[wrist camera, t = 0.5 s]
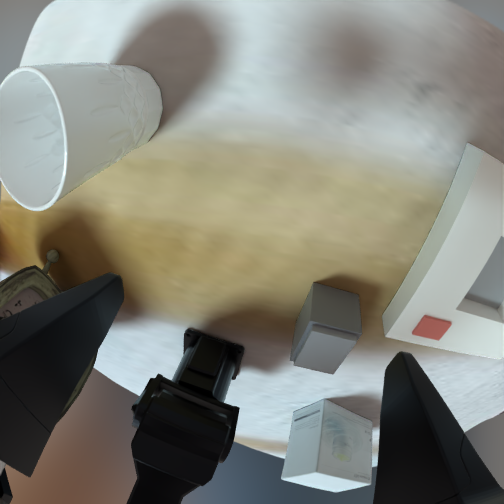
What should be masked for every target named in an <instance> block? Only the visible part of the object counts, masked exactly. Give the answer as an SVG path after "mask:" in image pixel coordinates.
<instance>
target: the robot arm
mask: <svg viewBox="0 0 504 504" xmlns="http://www.w3.org/2000/svg"><path fill="white" fill-rule="evenodd" d="M123 300H124V289H123V282H122V278H121V276H120V275H117V274H114V273H111V272H110V273H107V274H104V275H102V276H100V277H97V278H95V279H92V280H90V281H88V282H85V283H83V284H81V285H78V286H76V287H74V288H71V289H69V290H67V291H64V292H62V293H60V294H58V295H55V296H53V297H51V298H48V299H46V300H44V301H42V302H39V303H37V304H35V305H33V306H31V307H28V308H26V309H24V310H22V311H21V312H17V313H15V314H13V315H11V316H8V317H6V318H4V319H2V320H0V504H10V502H11V500H12V498H13V496H12V493H11V489H10V486H9V482H8V478H7V475H6V471H5V466H6V464H7V465H9V466H11V467H12V468H14V469H16V470H17V471H19V472H21V473H23V474H24V475H26V476H28V477H31V475H32V473H33V471H34V469H35V467H36V464H37V462H38V460H39V458H40V456H41V454H42V452H43V449H44V447H45V445H46V443H47V441H48V439H49V437H50V435H51V432H52V431H53V429H54V427H55V425H56V423H57V421H58V419H59V417H60V415H61V413H62V412H63V410H64V408H65V406H66V404H67V402H68V400H69V399H70V397H71V395H72V393H73V391H74V390H75V388H76V386H77V384H78V382H79V381H80V379H81V377H82V376H83V374H84V372H85V370H86V369H87V367H88V365H89V364H90V362H91V360H92V359H93V357H94V355H95V354H96V352H97V350H98V349H99V347H100V345H101V344H102V342H103V340H104V339H105V337H106V335H107V333H108V331H109V329H110V327H111V325H112V322H113V320H114V318H115V316H116V314H117V312H118V310H119V308H120V306H121V304H122V302H123ZM243 353H244V348H243V347H242V346H239V345H235V344H232V343H229V342H226V341H222V340H219V339H216V338H213V337H210V336H207V335H204V334H201V333H198V332H195V331H192V330H189V329H187V330H186V331H185V333H184V356H183V358H182V360H181V362H180V364H179V366H178V368H177V370H176V372H175V374H174V377H173V379H172V381H171V380H169V379H167V378H165V377H163V375H161V374H158V375H157V376H156V378H150V380H149V382H148V384H147V386H146V387H145V389H144V391H143V392H142V394H141V395H140V396H139V398H138V399H137V400H136V402H135V403H134V404H133V406H132V409H131V410H132V412H133V415H134V416H133V423H132V427H134V428H136V429H137V431H136V434H135V436H134V438H133V440H132V443H131V448H132V455H133V459H134V463H135V469H136V474H137V480H136V483H135V485H134V487H133V490H132V492H131V494H130V497H129V499H128V501H127V504H181V501H182V499H183V497H184V496H185V495H187V494H188V493H190V492H191V491H193V490H194V489H196V488H197V487H199V486H203V485H205V484H206V483H207V482H209V481H210V480H211V479H212V477H213V474H214V472H215V470H216V467H217V465H218V462H219V463H223V462H224V461H225V459H226V458H227V456H228V454H229V452H230V450H231V447H232V444H233V441H234V436H235V431H236V425H237V420H238V414H239V409H240V408H239V407H237V406H231V405H229V404H226V403H224V400H225V397H226V394H227V391H228V388H229V385H230V382H231V380H235V379H236V376H237V373H238V370H239V366H240V363H241V360H242V357H243ZM373 504H504V489H502V488H501V487H500V485H499V484H498V483H497V481H496V480H495V478H494V477H493V476H492V474H491V473H490V471H489V470H488V468H487V467H486V465H485V464H484V463H483V461H482V460H481V458H480V457H479V455H478V454H477V452H476V451H475V449H474V448H473V446H472V444H471V443H470V441H469V440H468V438H467V436H466V435H465V434H464V431H463V430H462V428H461V427H460V425H459V423H458V422H457V420H456V419H455V417H454V415H453V414H452V412H451V411H450V409H449V408H448V406H447V405H446V403H445V402H444V400H443V399H442V397H441V396H440V394H439V393H438V391H437V390H436V388H435V387H434V385H433V384H432V382H431V381H430V379H429V378H428V376H427V375H426V374H425V372H424V371H423V369H422V368H421V366H420V365H419V364H418V362H417V361H416V359H415V358H414V357H413V355H412V354H411V353H408V352H402V351H401V352H399V353H397V355H396V356H395V357H394V358H393V360H392V361H391V362H390V363H389V365H388V366H387V368H386V370H385V377H384V387H383V396H382V405H381V414H380V436H379V453H378V465H377V476H376V485H375V493H374V500H373Z"/></svg>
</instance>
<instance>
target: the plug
mask: <svg viewBox="0 0 504 504" xmlns="http://www.w3.org/2000/svg"><path fill="white" fill-rule="evenodd" d="M361 335H362V326H361V314H360V303H359V295H358V294H354V293H350V292H347V291H343V290H340V289H336V288H333V287H329V286H326V285H322V284H318V283H315V282H313V284H312V287H311V289H310V292H309V294H308V296H307V299H306V301H305V303H304V305H303V308H302V310H301V312H300V315H299V317H298V319H297V321H296V325H295V331H294V338H293V344H292V350H291V356H290V361H294V366H298V367H303V368H307V369H311V370H315V371H320V372H324V373H329V374H334V373H335V371H336V370H337V369H338V367H339V366H340V365H341V363H342V362H343V361H344V359H345V358H346V356H347V355H348V354H349V352H350V351H351V349H352V348H353V347H354V345H355V344H356V342H357V340H358V339H359V338H360V336H361Z"/></svg>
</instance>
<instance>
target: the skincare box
mask: <svg viewBox="0 0 504 504" xmlns="http://www.w3.org/2000/svg"><path fill="white" fill-rule="evenodd" d="M371 471H372V421H370V420H368V419H366V418H364V417H361V416H359V415H357V414H355V413H353V412H351V411H349V410H347V409H345V408H343V407H341V406H339V405H337V404H335V403H333V402H331V401H329V400H327V399H323V400H320V401H318V402H316V403H314V404H312V405H309V406H307V407H305V408H302V409H300V410H297V411H295V412H293V418H292V425H291V431H290V436H289V442H288V448H287V453H286V458H285V464H284V467H283V472H282V476H281V479H283V480H286V481H290V482H294V483H298V484H301V485H305V486H309V487H313V488H318V489H323V490H328V491H333V492H340V491H345V490H349V489H354V488H359V487H363V486H367V485H371Z"/></svg>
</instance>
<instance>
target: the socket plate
mask: <svg viewBox="0 0 504 504" xmlns="http://www.w3.org/2000/svg"><path fill="white" fill-rule="evenodd" d="M382 320H383V327H384V334H385V337H388V338H392V339H396V340H401V341H405V342H410V343H415V344H419V345H424V346H429V347H434V348H439V349H444V350H449V351H454V352H459V353H464V354H470V355H475V356H481V357H487V358H493V359H499V360H501V359H502V358H503V357H504V164H503V163H502V162H500V161H499V160H497V159H496V158H494V157H493V156H491V155H489V154H488V153H486V152H485V151H483V150H481V149H479V148H477V147H475V146H473V145H471V144H469V143H467V145H466V148H465V150H464V153H463V156H462V159H461V161H460V164H459V167H458V169H457V172H456V174H455V177H454V179H453V182H452V184H451V187H450V189H449V192H448V194H447V196H446V199H445V201H444V203H443V205H442V207H441V210H440V212H439V214H438V216H437V218H436V220H435V223H434V225H433V227H432V229H431V231H430V233H429V235H428V237H427V239H426V241H425V243H424V245H423V246H422V248H421V250H420V252H419V254H418V256H417V258H416V260H415V261H414V263H413V265H412V267H411V269H410V270H409V272H408V274H407V276H406V277H405V279H404V281H403V283H402V284H401V286H400V288H399V289H398V291H397V293H396V294H395V296H394V297H393V299H392V301H391V302H390V304H389V305H388V307H387V309H386V310H385V312H384V313H383V315H382Z"/></svg>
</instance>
